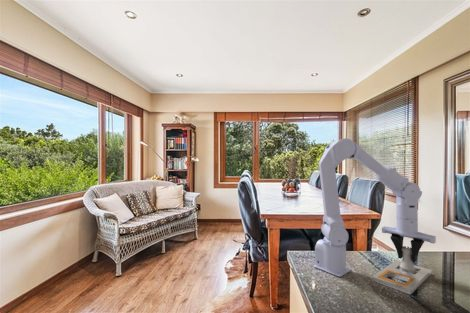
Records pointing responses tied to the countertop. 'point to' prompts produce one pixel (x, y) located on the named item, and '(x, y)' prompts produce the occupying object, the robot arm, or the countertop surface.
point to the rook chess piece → (407, 260)
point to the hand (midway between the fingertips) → (407, 259)
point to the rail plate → (401, 277)
